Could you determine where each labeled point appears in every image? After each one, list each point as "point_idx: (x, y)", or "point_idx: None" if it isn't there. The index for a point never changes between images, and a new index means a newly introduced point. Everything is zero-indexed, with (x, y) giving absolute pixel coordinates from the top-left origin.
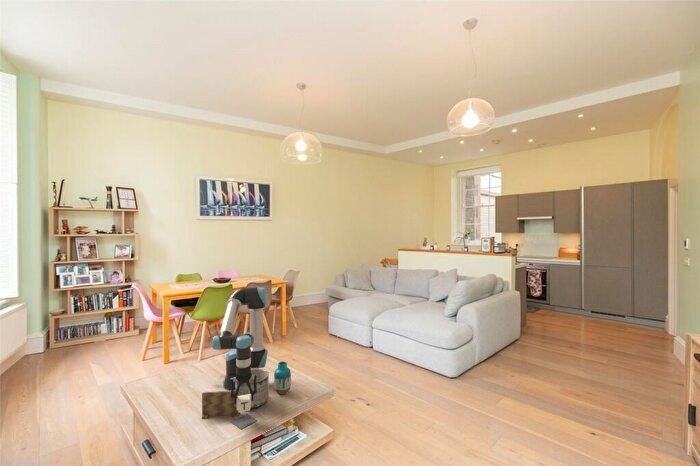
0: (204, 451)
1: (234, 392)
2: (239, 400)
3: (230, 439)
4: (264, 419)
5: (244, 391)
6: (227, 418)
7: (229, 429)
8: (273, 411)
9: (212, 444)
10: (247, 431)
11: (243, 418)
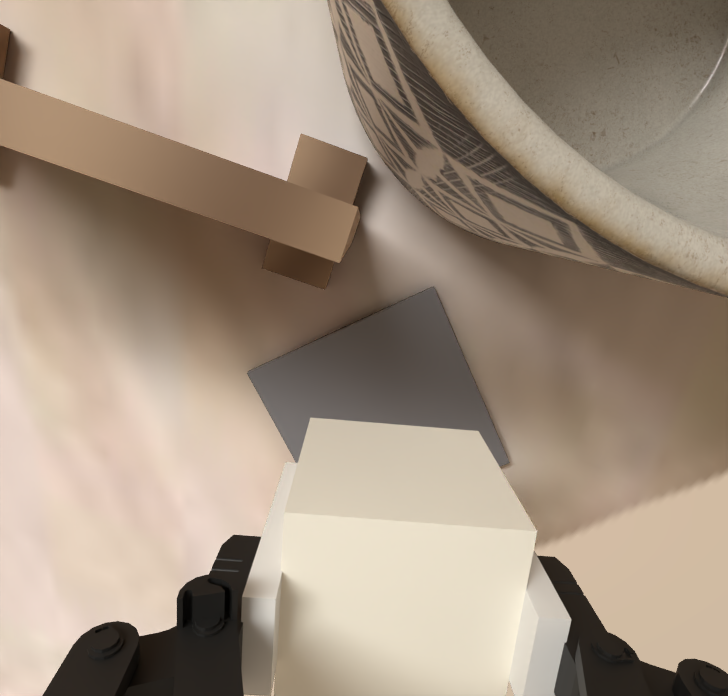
0: (38, 672)
1: (232, 223)
2: (300, 692)
3: None
4: (576, 465)
5: (476, 203)
6: (218, 278)
7: (232, 482)
8: (712, 363)
9: (91, 620)
10: None
11: (382, 373)
